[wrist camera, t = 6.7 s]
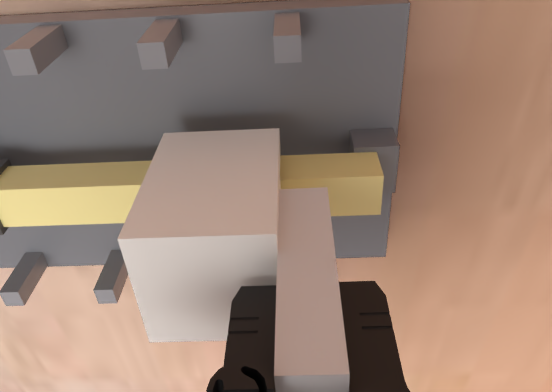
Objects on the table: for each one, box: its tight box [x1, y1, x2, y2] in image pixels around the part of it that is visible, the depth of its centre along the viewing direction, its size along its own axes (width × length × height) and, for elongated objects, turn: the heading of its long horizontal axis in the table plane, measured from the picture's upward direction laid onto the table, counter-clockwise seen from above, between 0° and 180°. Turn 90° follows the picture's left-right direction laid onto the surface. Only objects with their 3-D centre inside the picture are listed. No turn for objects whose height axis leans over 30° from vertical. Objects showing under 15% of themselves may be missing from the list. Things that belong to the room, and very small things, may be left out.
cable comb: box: [0, 0, 410, 306], centre depth 19 cm, size 20×11×5 cm, turn 93°
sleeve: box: [118, 128, 281, 342], centre depth 16 cm, size 4×4×6 cm
